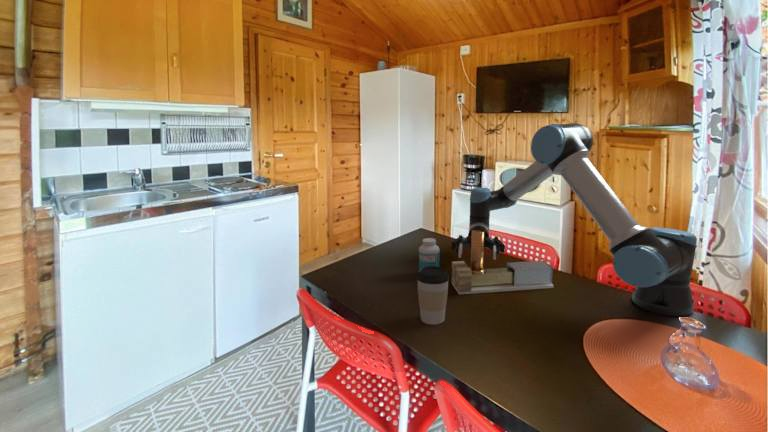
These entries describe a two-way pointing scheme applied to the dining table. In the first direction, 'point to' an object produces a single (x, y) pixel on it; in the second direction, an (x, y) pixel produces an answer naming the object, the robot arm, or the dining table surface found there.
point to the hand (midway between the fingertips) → (477, 254)
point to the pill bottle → (429, 254)
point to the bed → (502, 288)
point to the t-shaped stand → (478, 273)
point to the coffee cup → (432, 294)
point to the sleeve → (531, 273)
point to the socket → (461, 276)
